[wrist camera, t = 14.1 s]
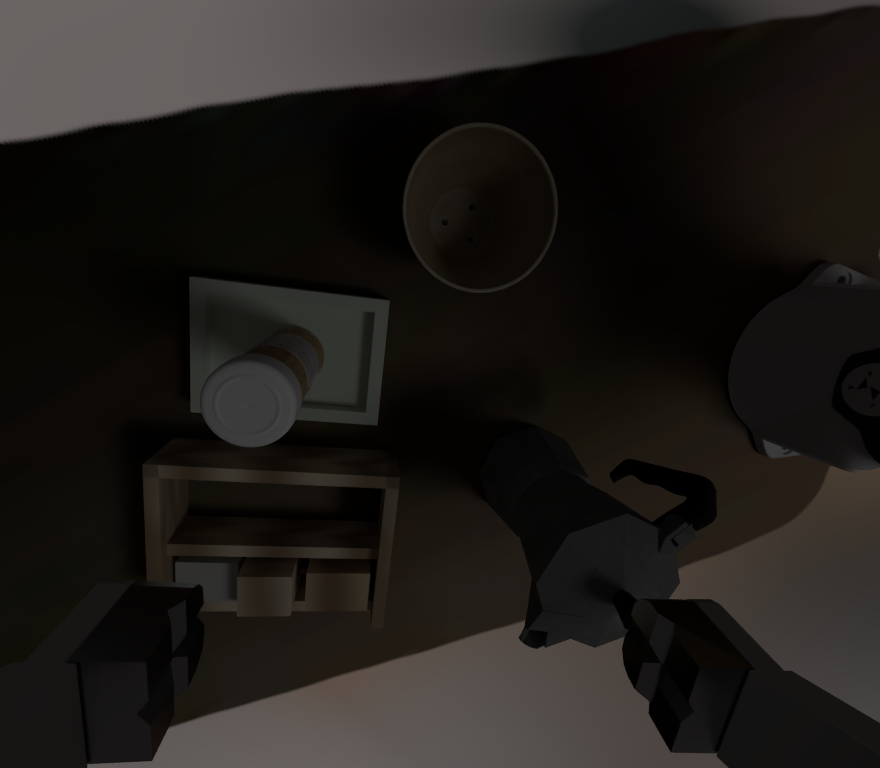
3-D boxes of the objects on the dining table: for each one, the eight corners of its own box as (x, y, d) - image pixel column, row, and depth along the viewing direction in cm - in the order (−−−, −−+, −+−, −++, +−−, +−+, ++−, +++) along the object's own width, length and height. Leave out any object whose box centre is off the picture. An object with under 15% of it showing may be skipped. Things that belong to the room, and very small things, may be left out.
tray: (388, 298, 34) (389, 300, 33) (377, 417, 37) (377, 425, 35) (200, 276, 32) (189, 276, 30) (201, 404, 34) (190, 412, 32)
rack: (396, 451, 38) (400, 477, 33) (381, 587, 41) (382, 628, 36) (174, 437, 35) (142, 464, 30) (177, 585, 38) (148, 630, 33)
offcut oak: (370, 537, 40) (370, 573, 35) (367, 570, 41) (366, 610, 36) (314, 535, 39) (306, 573, 34) (312, 570, 40) (304, 611, 35)
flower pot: (542, 186, 34) (583, 165, 27) (492, 306, 36) (520, 314, 29) (424, 129, 32) (438, 90, 25) (378, 260, 34) (379, 257, 27)
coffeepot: (500, 546, 42) (587, 739, 25) (440, 481, 39) (492, 647, 22) (626, 447, 41) (806, 575, 24) (574, 374, 38) (735, 459, 21)
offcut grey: (252, 533, 38) (238, 563, 34) (251, 569, 39) (237, 601, 35) (195, 532, 37) (175, 562, 33) (195, 568, 38) (175, 601, 34)
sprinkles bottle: (278, 389, 34) (221, 462, 21) (255, 335, 33) (178, 378, 20) (334, 372, 34) (310, 433, 22) (313, 317, 33) (274, 347, 20)
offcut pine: (303, 535, 39) (291, 577, 33) (301, 570, 40) (290, 616, 34) (256, 534, 38) (237, 576, 33) (255, 569, 39) (236, 616, 34)
